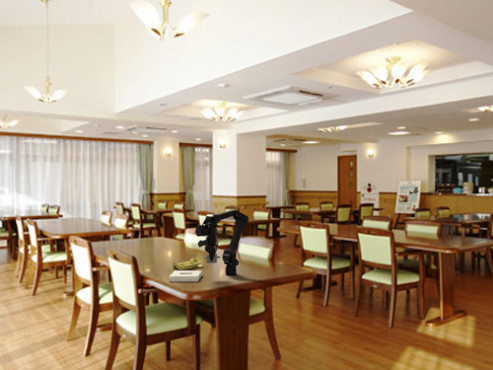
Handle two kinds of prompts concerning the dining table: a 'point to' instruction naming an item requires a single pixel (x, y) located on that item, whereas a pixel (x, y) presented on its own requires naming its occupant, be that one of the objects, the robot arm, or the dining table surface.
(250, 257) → the dining table surface
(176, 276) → the white square base plate
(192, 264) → the plastic component
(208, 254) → the servo
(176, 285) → the dining table surface
